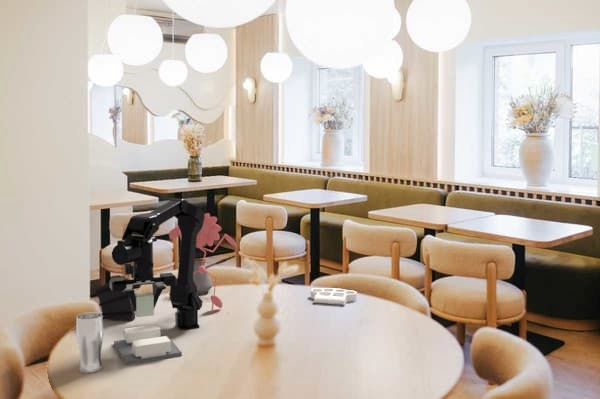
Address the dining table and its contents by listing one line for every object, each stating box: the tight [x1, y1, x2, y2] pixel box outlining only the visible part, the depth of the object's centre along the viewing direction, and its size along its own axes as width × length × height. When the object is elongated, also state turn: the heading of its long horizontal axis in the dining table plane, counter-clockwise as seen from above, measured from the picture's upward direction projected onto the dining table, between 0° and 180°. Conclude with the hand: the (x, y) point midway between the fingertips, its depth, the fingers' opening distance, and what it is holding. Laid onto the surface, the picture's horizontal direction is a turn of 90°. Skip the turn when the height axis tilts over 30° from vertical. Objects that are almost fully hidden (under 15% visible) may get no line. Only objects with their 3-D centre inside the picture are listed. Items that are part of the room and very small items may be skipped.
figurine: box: [168, 212, 238, 315], centre depth 227 cm, size 15×26×35 cm, turn 81°
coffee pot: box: [193, 254, 238, 295], centre depth 249 cm, size 21×12×15 cm, turn 89°
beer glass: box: [75, 311, 104, 374], centre depth 170 cm, size 7×7×15 cm
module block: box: [134, 291, 155, 318], centre depth 185 cm, size 5×4×6 cm
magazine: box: [94, 275, 136, 322], centre depth 214 cm, size 4×13×15 cm, turn 82°
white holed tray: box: [310, 287, 358, 306], centre depth 240 cm, size 3×18×15 cm
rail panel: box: [113, 324, 183, 366], centre depth 185 cm, size 16×18×5 cm
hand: (144, 310), depth 185 cm, fingers closed on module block, 5 cm apart
